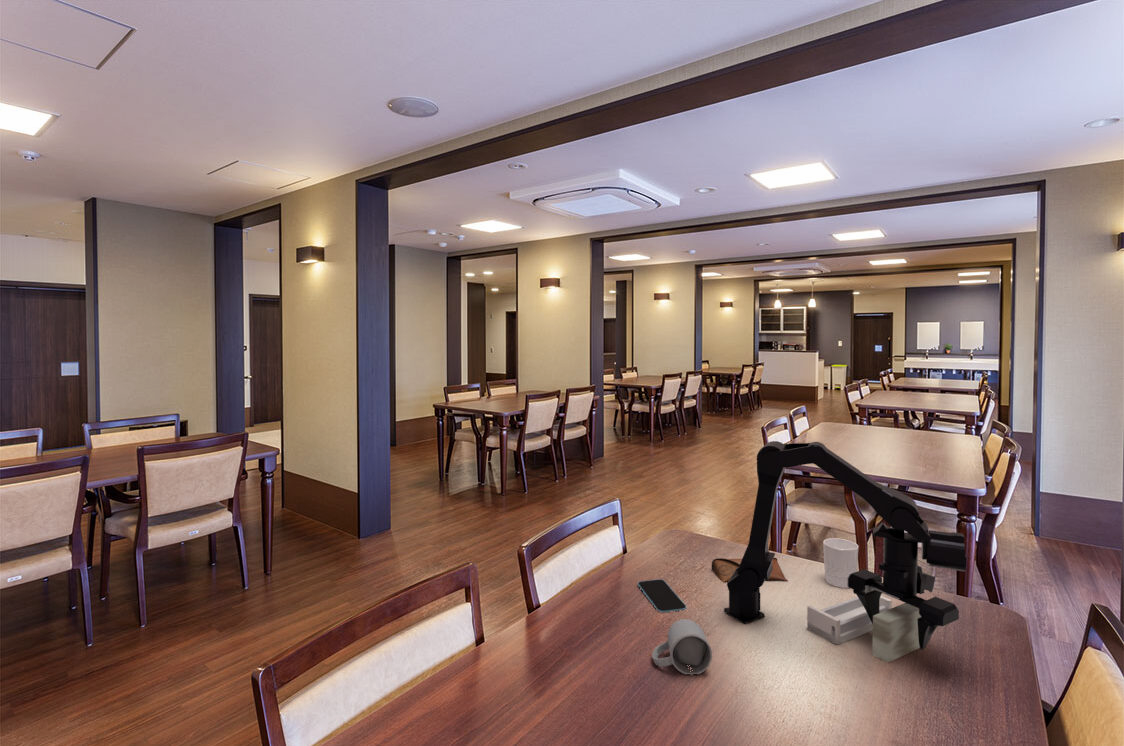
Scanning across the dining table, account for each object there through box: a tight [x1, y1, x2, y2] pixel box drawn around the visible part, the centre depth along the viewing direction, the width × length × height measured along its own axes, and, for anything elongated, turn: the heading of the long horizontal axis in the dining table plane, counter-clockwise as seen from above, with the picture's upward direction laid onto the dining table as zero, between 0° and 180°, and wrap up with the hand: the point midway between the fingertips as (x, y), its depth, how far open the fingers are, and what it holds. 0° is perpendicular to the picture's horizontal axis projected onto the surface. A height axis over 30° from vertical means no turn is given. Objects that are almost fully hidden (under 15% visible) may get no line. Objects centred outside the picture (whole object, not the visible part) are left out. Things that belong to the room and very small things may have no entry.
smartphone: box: [637, 578, 687, 613], centre depth 132 cm, size 7×1×15 cm
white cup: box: [822, 537, 859, 589], centre depth 138 cm, size 8×8×10 cm
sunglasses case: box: [711, 557, 789, 584], centre depth 144 cm, size 18×7×7 cm, turn 92°
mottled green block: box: [871, 602, 921, 664], centre depth 108 cm, size 12×3×8 cm, turn 117°
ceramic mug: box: [651, 618, 713, 675], centre depth 105 cm, size 11×8×8 cm
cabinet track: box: [806, 595, 893, 646], centre depth 118 cm, size 18×7×5 cm, turn 117°
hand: (898, 637), depth 108 cm, fingers open, 9 cm apart
